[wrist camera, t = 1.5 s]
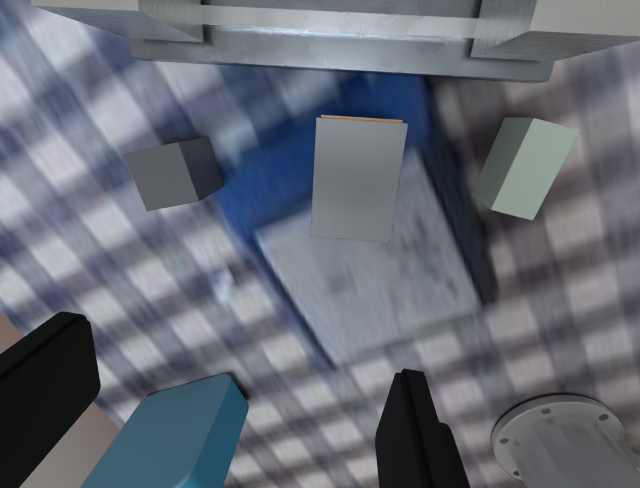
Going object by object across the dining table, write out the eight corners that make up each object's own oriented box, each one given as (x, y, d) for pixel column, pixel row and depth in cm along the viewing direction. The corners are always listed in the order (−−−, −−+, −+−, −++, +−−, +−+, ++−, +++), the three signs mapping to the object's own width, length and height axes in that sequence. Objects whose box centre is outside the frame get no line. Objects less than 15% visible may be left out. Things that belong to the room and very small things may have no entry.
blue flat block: (165, 421, 38) (92, 546, 27) (144, 394, 37) (58, 515, 26) (253, 398, 36) (211, 526, 25) (233, 369, 34) (180, 491, 23)
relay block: (208, 136, 25) (178, 142, 21) (224, 185, 27) (198, 201, 22) (163, 146, 26) (123, 154, 21) (180, 194, 27) (147, 211, 23)
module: (391, 118, 24) (408, 120, 17) (379, 210, 27) (389, 242, 20) (324, 113, 24) (316, 114, 18) (319, 205, 27) (310, 235, 20)
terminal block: (543, 127, 23) (580, 130, 20) (506, 204, 26) (532, 220, 22) (504, 117, 23) (533, 118, 20) (470, 195, 26) (490, 209, 22)
